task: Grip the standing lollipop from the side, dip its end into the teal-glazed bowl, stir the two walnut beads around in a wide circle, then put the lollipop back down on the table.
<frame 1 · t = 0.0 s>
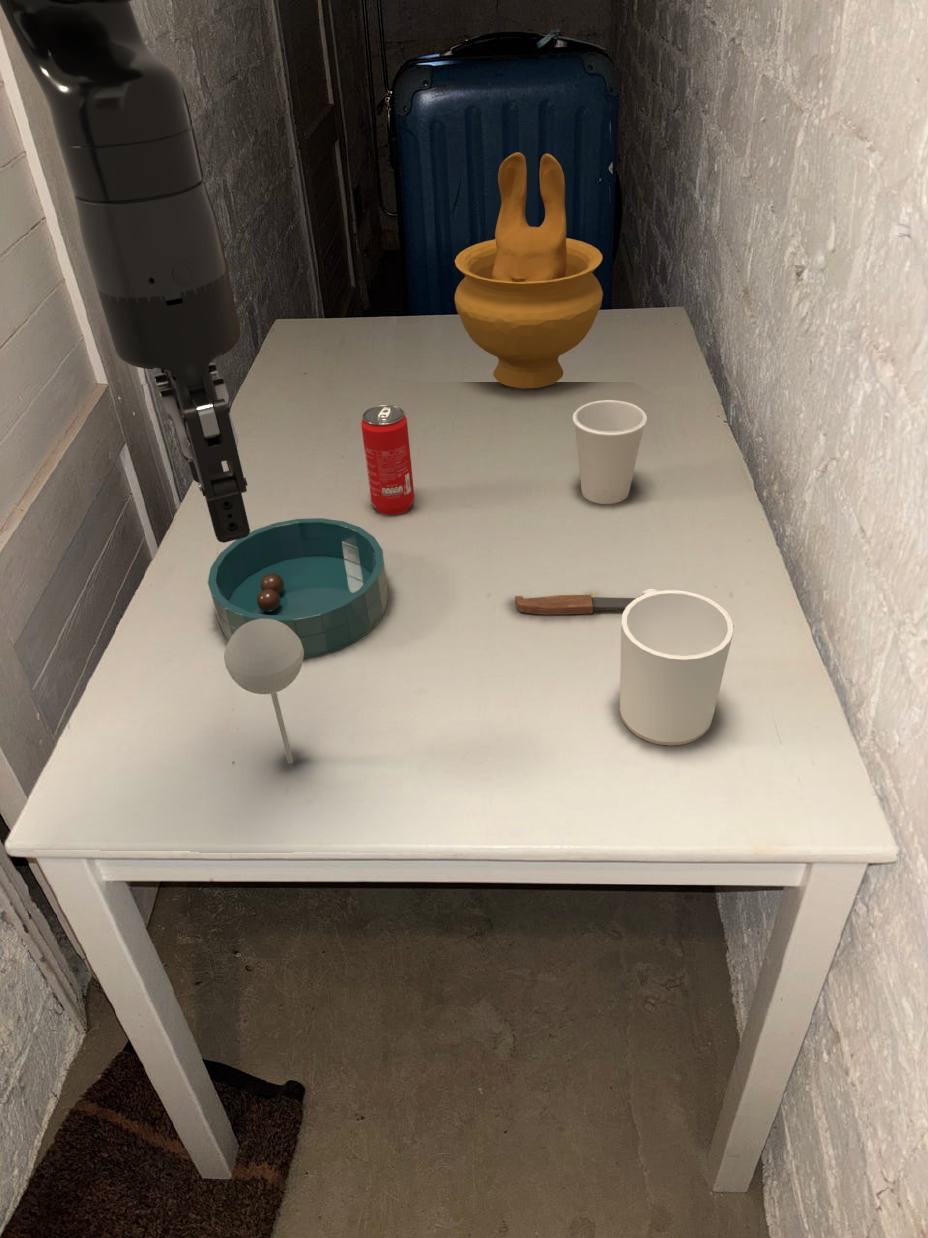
hand: (221, 506, 63), 25 cm above the table, tool pointing down, fingers open, 8 cm apart
lollipop: (290, 763, 78), on the table
decorative bowl: (528, 374, 137), on the table
bead b: (268, 600, 93), point 2 cm above the table, touching bowl
bead a: (272, 584, 95), point 2 cm above the table, touching bowl
dixie cup: (605, 492, 110), on the table
knife: (596, 606, 93), on the table
bowl: (304, 604, 95), on the table
beverage can: (393, 506, 110), on the table
mug: (660, 707, 81), on the table
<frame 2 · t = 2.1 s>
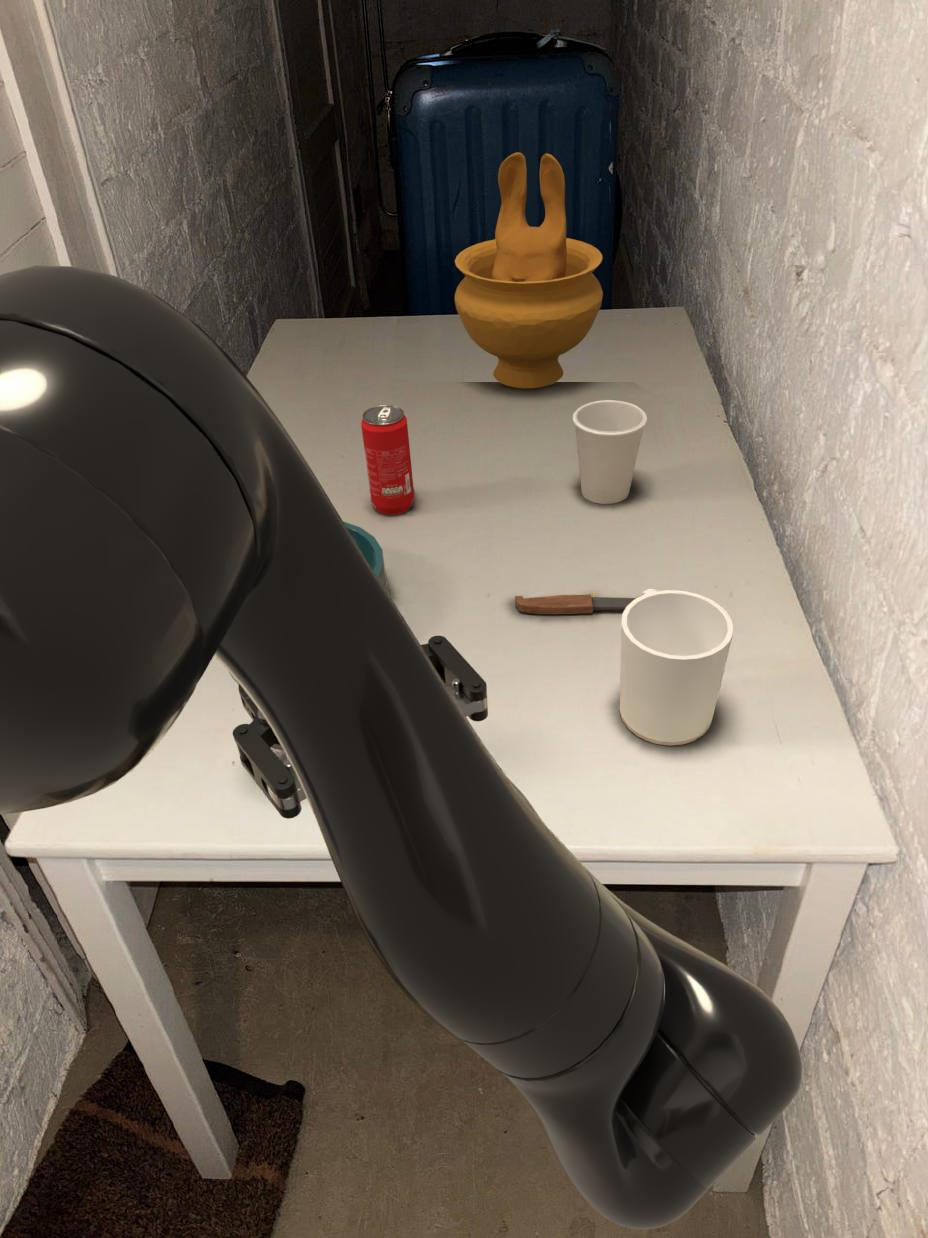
hand: (311, 654, 58), 20 cm above the table, tool horizontal, fingers open, 8 cm apart
nothing on the table moved.
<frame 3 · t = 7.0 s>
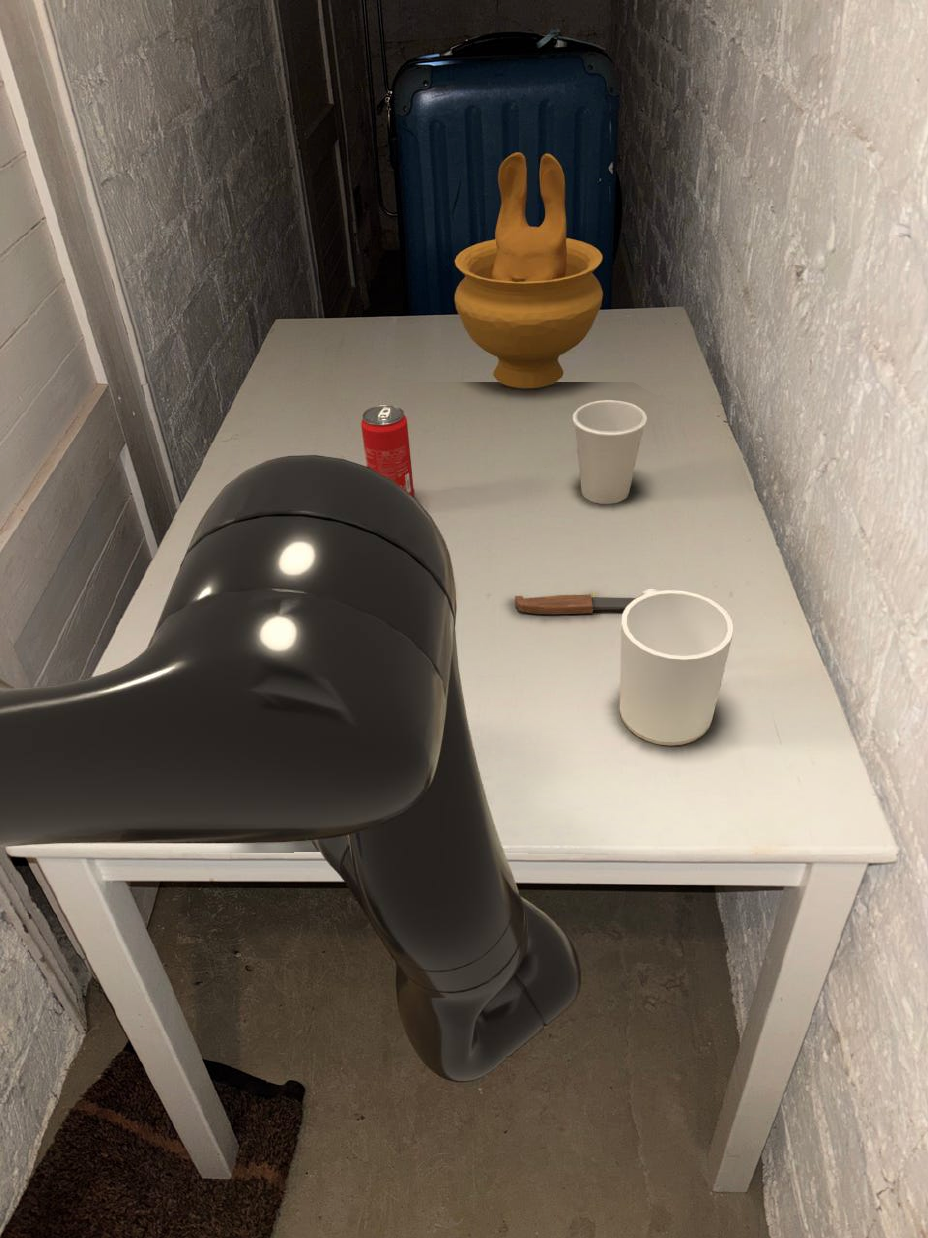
hand: (258, 670, 75), 8 cm above the table, tool horizontal, fingers closed on lollipop, 3 cm apart
lollipop: (290, 763, 78), on the table, touching gripper
everything else where it was.
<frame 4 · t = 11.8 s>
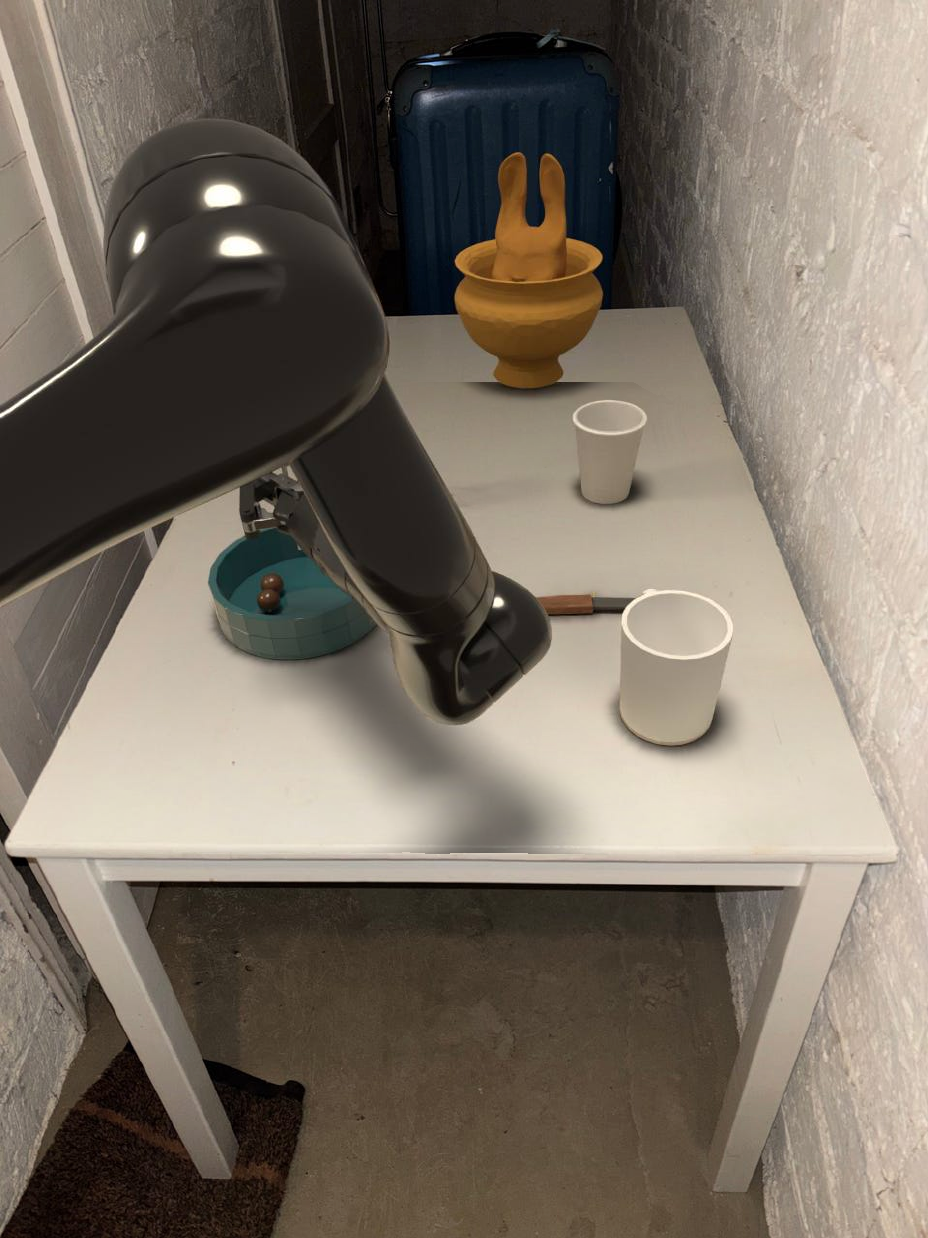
hand: (271, 457, 83), 18 cm above the table, tool horizontal, fingers closed on lollipop, 3 cm apart
lollipop: (301, 550, 86), point 9 cm above the table, touching gripper
everything else where it was.
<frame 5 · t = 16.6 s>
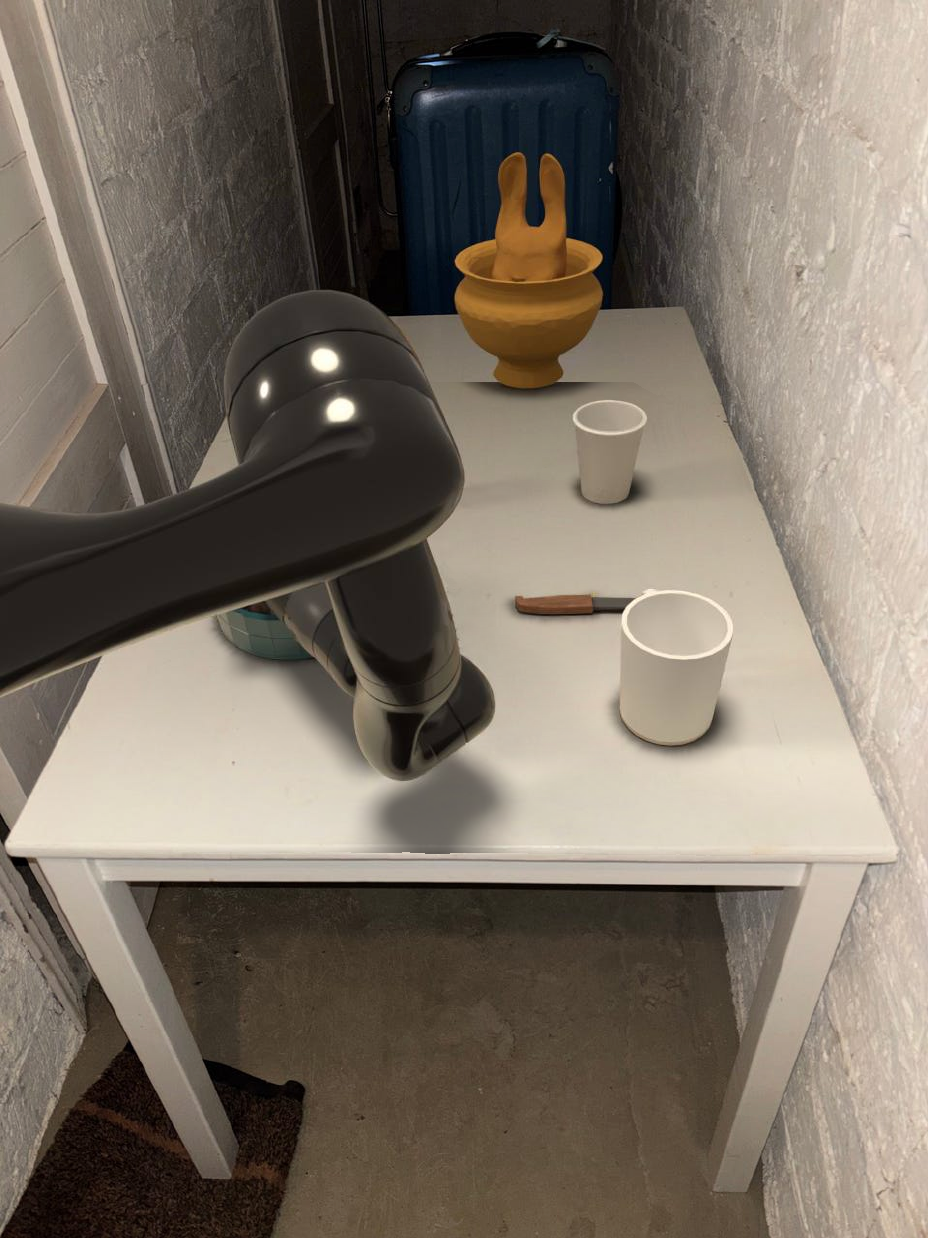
hand: (249, 523, 90), 10 cm above the table, tool horizontal, fingers closed on lollipop, 3 cm apart
lollipop: (277, 606, 94), point 1 cm above the table, touching gripper
bead b: (258, 613, 92), point 2 cm above the table, tilted 104°, touching bowl
bead a: (236, 595, 94), point 2 cm above the table, tilted 177°, touching bowl
everything else where it was.
when the fingers open (8 cm above the table, at t = 24.9 s): lollipop stays where it is, on the table.
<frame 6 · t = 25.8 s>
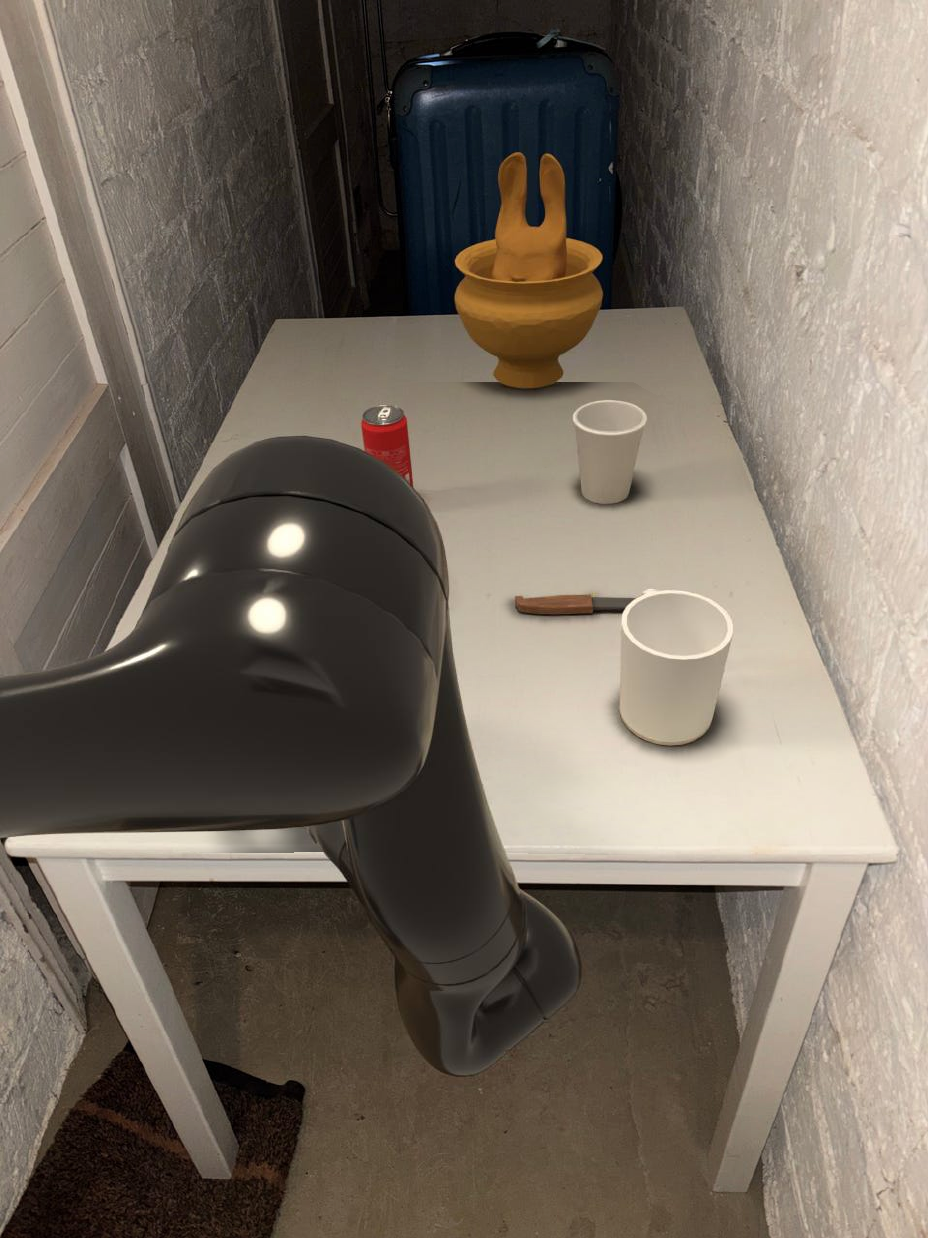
hand: (261, 670, 74), 9 cm above the table, tool horizontal, fingers open, 8 cm apart
lollipop: (292, 764, 78), on the table
bead b: (261, 615, 91), point 2 cm above the table, tilted 112°, touching bowl
bead a: (275, 591, 94), point 2 cm above the table, tilted 12°, touching bowl
everything else where it was.
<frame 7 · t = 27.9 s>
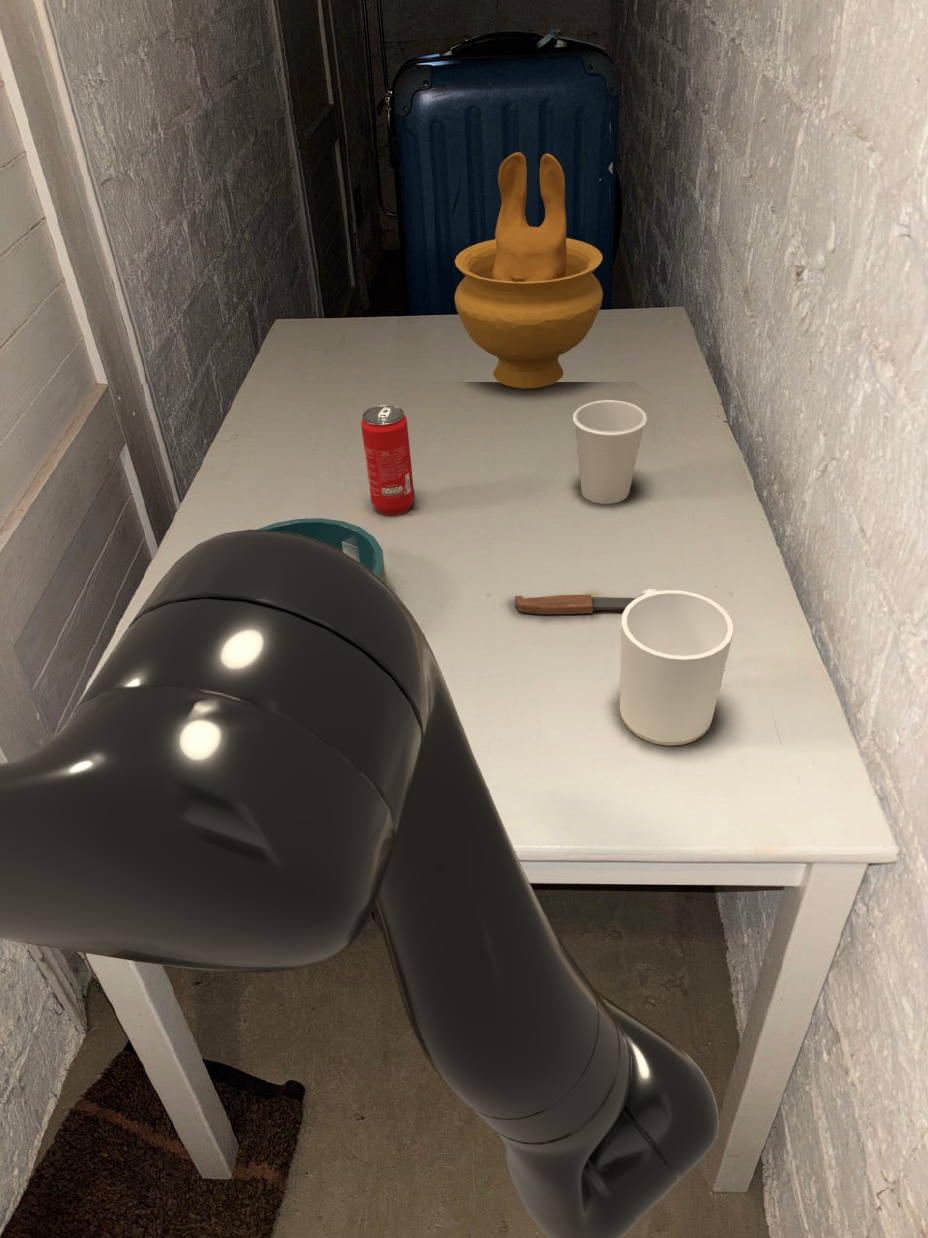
hand: (316, 737, 66), 10 cm above the table, tool horizontal, fingers open, 8 cm apart
lollipop: (286, 763, 78), on the table, touching bowl
bead b: (264, 613, 92), point 2 cm above the table, tilted 93°, touching bowl
bead a: (284, 590, 94), point 2 cm above the table, tilted 56°, touching bowl
everything else where it was.
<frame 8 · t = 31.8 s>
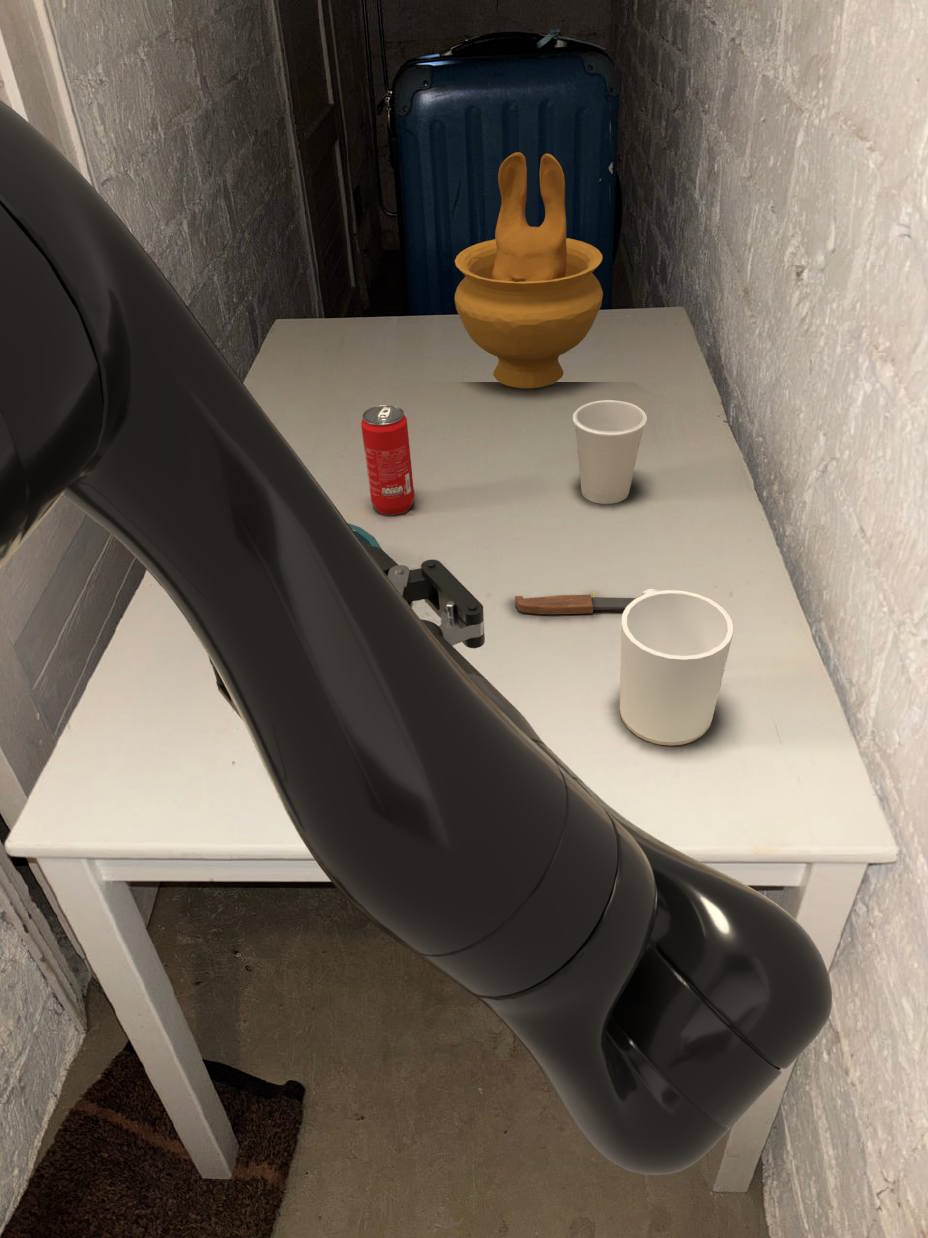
hand: (295, 580, 54), 26 cm above the table, tool horizontal, fingers open, 8 cm apart
bead b: (269, 609, 92), point 2 cm above the table, tilted 58°, touching bowl
bead a: (301, 588, 95), point 2 cm above the table, tilted 138°, touching bowl
everything else where it was.
at the end: bead a moved 3.3 cm from its start; bead a inside the target area in the bowl (0.4 cm from its centre), point 1.7 cm above the bowl's base; the gripper is holding nothing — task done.
